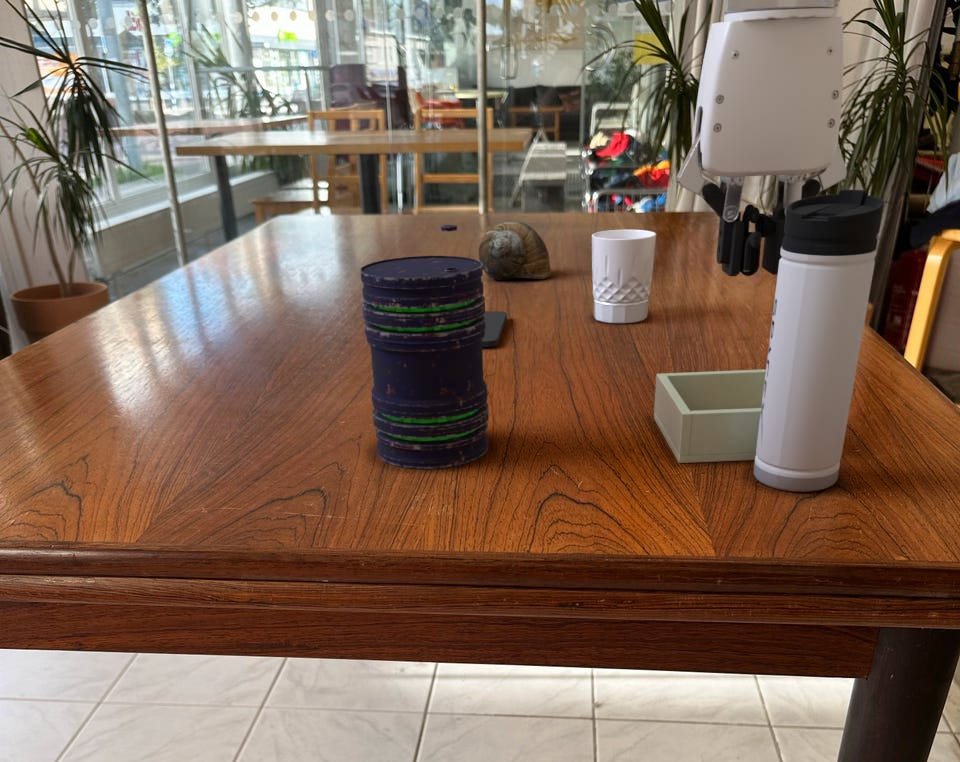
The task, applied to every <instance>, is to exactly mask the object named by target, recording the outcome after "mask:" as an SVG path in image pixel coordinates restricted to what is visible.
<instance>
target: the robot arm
mask: <svg viewBox="0 0 960 762" xmlns="http://www.w3.org/2000/svg"><path fill="white" fill-rule="evenodd" d="M839 2H840V0H725V1H724V12H723V13H724V15H723V21H720V22H719V21H718V22H712V23H711V26H710V29H709V34H708V37H707V42H706V47H705V51H704V55H703V61H702V67H701V71H700V77H699V78H700V79H699V85H698V92H697V98H696V107H695V113H694V122H693V130H692V137H691V138H692V139H691V147H690V149H689V151H688V153H687V155H686V157H685V159H684V161H683V163H682V164H681V167H680V169H679V171H678V173H677V175H676V178H675V181H676V184H677V185H678V186H680V187H682V188H684V189H685V190H687V191H689V192H691V193H693V194H695V195H697V196H699V197H700V198H702V199H703V200H704V201H705V202H706V204H707V205H708V206H709V207H710V209H711V210H712V211H713V212H714V213H715V215H716V216H717V217H718V218H719V223H718V235H717V246H716V263H717V264H718V265H721V271H722V272H723V273H724V274H726V276H728V277H737V276H738V275H740V273H741V272H740V265H741V255H742V245H743V236H744V223H743V222H741V221H742V220H741V218H742V217H741V216H742V212H740V211H741V204H742V195H743V191H744V183H745V179H746V177H764V176H776V177H775V178H776V179H775V180H776V181H775V194H774V195H775V197H774V207H773V209H772V214H769V215H768V216H769V217H770V218H772V219H773V221H774V224H775V228H774V231H773V232H772V234H771V235H769V236H768V237H764V238H763V239H764V240H763V250H762V258H761V268H762V269H763V270H765V271H766V272H768V273H769V274H771V275H773V276H775V275H777V276H778V268H779V260H780V259H781V258H782V256H781V254H780V251H781V247H782V242H783V237H785V233H784V226H785V217H786V209H787V207H788V205H789V204H791V203H792V202H795V201H797V200H800V199H804V198H808V197H813V196H818V195H819V193H821V192H823V191H826V190H827V189H829V188H831V187H833V186H834V185H837V184H838V183H840V182H842V181H843V180H845V179H846V177H847V173H848V171H847V167H846V164H845V161H844V157H843V153H842V151H841V147H840V144H839V135H840V125H841V118H842V117H841V116H842V107H843V106H842V104H843V92H844V91H843V88H844V28H843V27H844V25H843V17H842V16H834V15H835V8H837V7H838V6H839ZM702 171H703V172H706V173H708V174H710V175H712V176H715V177H719V180H718V184H716V183H714V182H712V181H711V180H709V179H707V178H704V176H703V175H702ZM807 174H812V175H810V176H807V177H804V175H807ZM740 220H741V221H740Z"/></svg>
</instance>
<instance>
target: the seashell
mask: <svg viewBox="0 0 960 762" xmlns="http://www.w3.org/2000/svg"><path fill="white" fill-rule="evenodd" d="M478 260H479V261H480V262H482V265H483V273H485V274H486V275H487V276H488V277H490V278H491V279H494V280H498V281H507V280H511V279H516V278H519V279H521V278H522V279H523V278H524V279H537V280H542V279H543V280H544V279H547V278H549V277H550V276H552V275H553V272H552V269H551V264H550V256H549V250H548V248H547V246H546V243H545V241H544V240H543V239H542V237H541V236H540V234H539V233H538V232H537V231H536V230H535V229H534V228H533V227H532V226H530V225H529V224H527V223H524V222H521V221H519V220H511V221H510V220H509V221H503V222H499V223H497V224H496V225H494V226H492V227H490V228H489V229H488V230H487V231H486V232H485V233H484V235H483V236H482V238H481V240H480V242H479V245H478Z"/></svg>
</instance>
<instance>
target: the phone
mask: <svg viewBox="0 0 960 762" xmlns="http://www.w3.org/2000/svg"><path fill="white" fill-rule="evenodd" d="M484 318H485V325H486V328H485V336H484V338H483V339H482V348H492V347H493V348H494V347H496V346H498V345H499V343H500V340H501V337H502V333H503V332H504V329H505V326H506V323H507V319H508V313H507V312H506V311H500V310H494V311H493V310H489V311H488V310H487V311H486V310H485V314H484Z"/></svg>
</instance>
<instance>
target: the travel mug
mask: <svg viewBox="0 0 960 762" xmlns="http://www.w3.org/2000/svg"><path fill="white" fill-rule="evenodd" d="M869 192H870V191H869V190H868V189H867V190H866V189H848V188H847V189H846V188H843V189H840V190H839V192H838V193H830V194H820V195H819V194H818V195H816V196H813V197H808V198H804V199H800V200H797V201H795V202H792V203H791V204H789V205H788V207H787V209H786V217H785V226H784V233H785V237H783V242H782V247H781V251H780V254H781V256H782V258H781V259H780V260H779V268H778V275H777V277H776V285H775V293H774V301H773V309H772V317H771V325H770V332H769V333H770V334H769V342H768V350H767V357H766V367H765V369H766V373H765V382H764V390H763V398H762V406H761V414H760V422H759V431H758V439H757V447H756V456H755V460H754V465H753V476H754V477H755V479H756V480H757V481H758V482H759V483H761V484H763V485H764V486H767V487H769V488H773V489H776V490H781V491H784V492H785V491H786V492H793V493H809V492H810V493H811V492H817V491H822V490H825V489H828V488H830V487H831V486H833V485H834V484H835V483H836V482H837V481H838V479H839V472H840V467H841V459H842V455H843V449H844V445H845V444H844V443H845V437H846V431H847V426H848V422H849V421H848V420H849V414H850V410H851V402H852V397H853V391H854V385H855V381H856V374H857V369H858V368H857V367H858V364H859V357H860V351H861V345H862V339H863V334H864V328H865V323H866V317H867V311H868V304H869V299H870V293H871V287H872V281H873V275H874V270H875V264H876V260H874V259H875V257H876V256H877V253H878V252H877V251H878V248H877V247H878V242H879V239H878V238H877V237H878V235H879V233H880V231H881V230H880V229H881V224H882V218H883V212H884V207H885V202H884V200H883V199H881V197H878V196H873V195H869Z"/></svg>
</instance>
